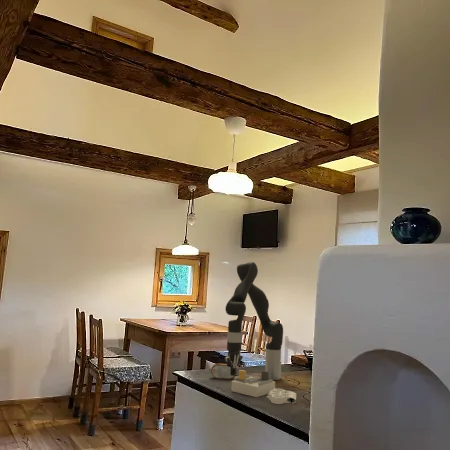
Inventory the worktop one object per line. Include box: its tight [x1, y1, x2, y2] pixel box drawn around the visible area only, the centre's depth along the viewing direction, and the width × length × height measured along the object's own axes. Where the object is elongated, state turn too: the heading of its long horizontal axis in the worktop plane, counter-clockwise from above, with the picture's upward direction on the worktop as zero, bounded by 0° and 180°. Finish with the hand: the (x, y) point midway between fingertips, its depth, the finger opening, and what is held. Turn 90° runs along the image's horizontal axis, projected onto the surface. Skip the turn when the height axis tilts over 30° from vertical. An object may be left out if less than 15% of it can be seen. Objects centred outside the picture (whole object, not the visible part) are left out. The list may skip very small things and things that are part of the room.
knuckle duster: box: [266, 388, 297, 405], centre depth 222 cm, size 3×18×15 cm
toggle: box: [260, 370, 270, 381], centre depth 236 cm, size 3×4×5 cm
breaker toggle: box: [237, 369, 247, 382], centre depth 236 cm, size 3×4×5 cm
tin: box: [210, 362, 238, 380], centre depth 262 cm, size 15×3×8 cm, turn 84°
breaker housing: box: [230, 374, 276, 398], centre depth 235 cm, size 17×16×6 cm
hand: (232, 375), depth 230 cm, fingers closed
